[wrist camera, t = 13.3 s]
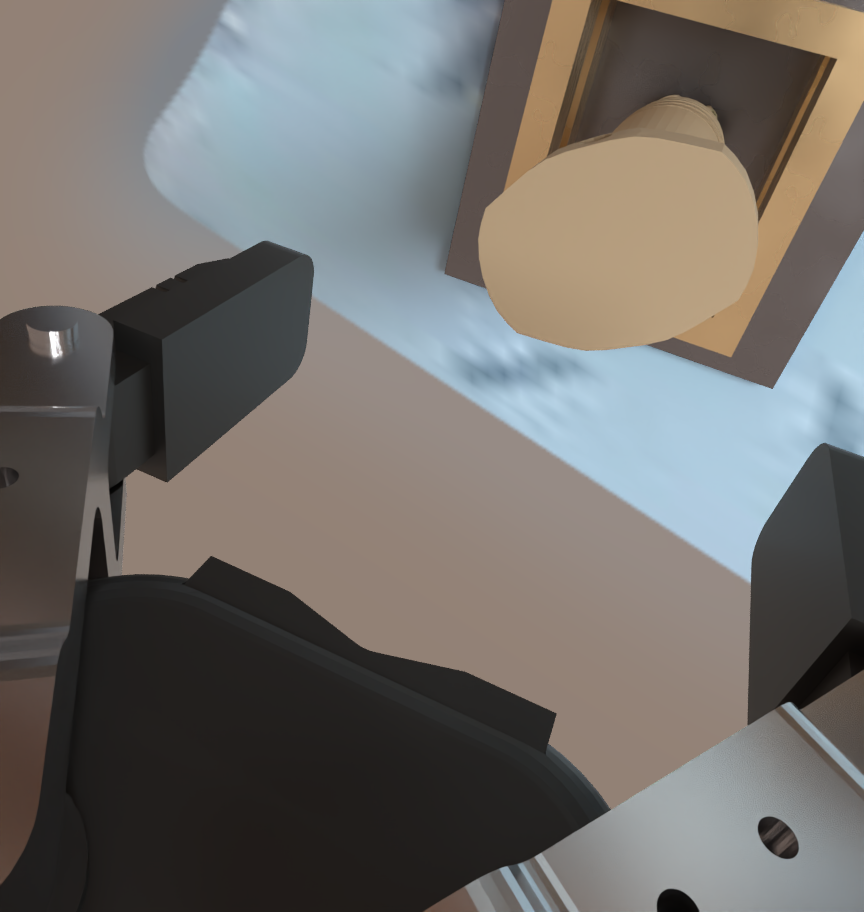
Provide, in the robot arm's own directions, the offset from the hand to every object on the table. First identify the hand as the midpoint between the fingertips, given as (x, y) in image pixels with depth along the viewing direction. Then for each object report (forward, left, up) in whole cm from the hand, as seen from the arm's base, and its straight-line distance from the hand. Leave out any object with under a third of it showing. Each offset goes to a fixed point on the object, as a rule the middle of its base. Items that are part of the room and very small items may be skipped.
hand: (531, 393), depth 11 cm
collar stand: (0, 0, -23) cm, 23 cm away
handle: (0, 0, -23) cm, 23 cm away
